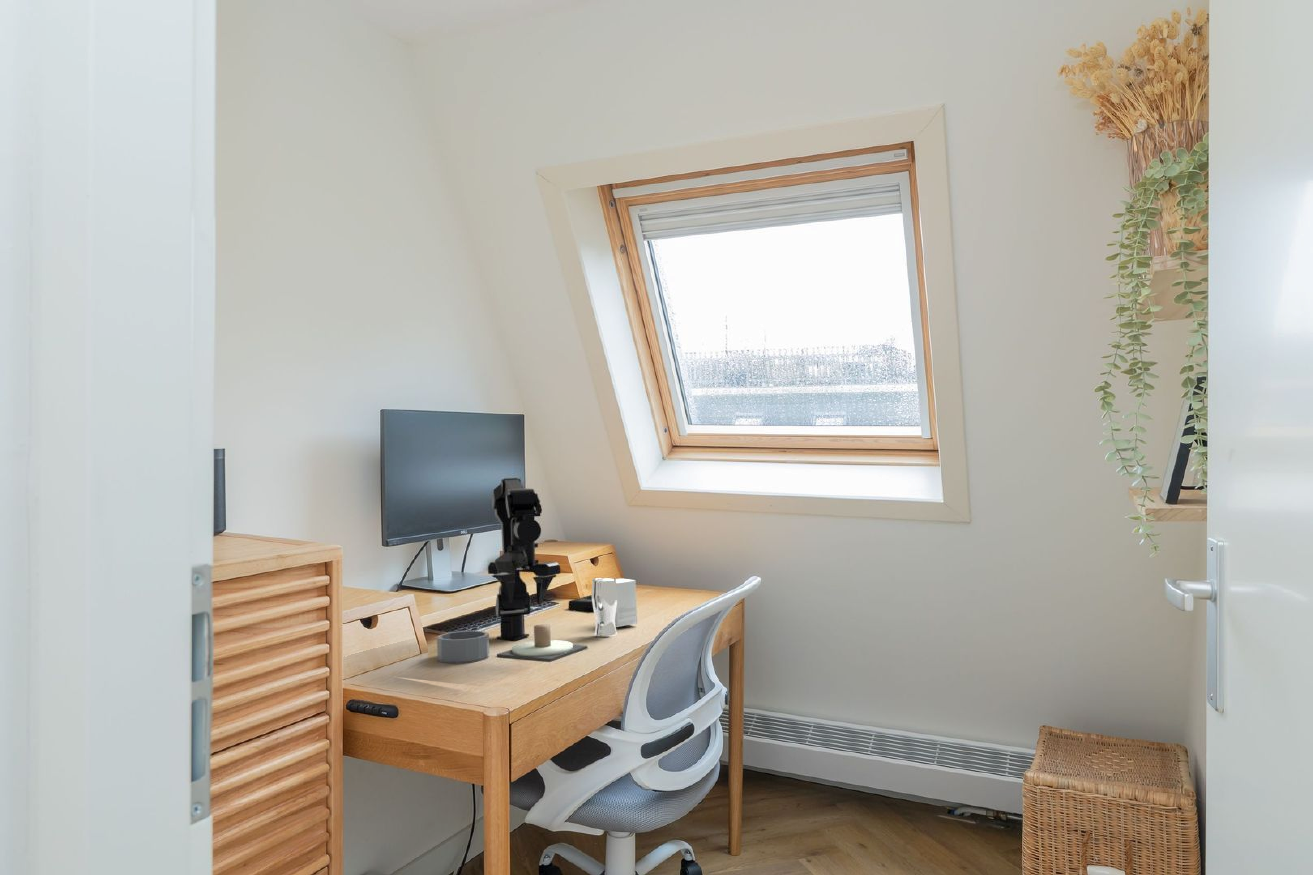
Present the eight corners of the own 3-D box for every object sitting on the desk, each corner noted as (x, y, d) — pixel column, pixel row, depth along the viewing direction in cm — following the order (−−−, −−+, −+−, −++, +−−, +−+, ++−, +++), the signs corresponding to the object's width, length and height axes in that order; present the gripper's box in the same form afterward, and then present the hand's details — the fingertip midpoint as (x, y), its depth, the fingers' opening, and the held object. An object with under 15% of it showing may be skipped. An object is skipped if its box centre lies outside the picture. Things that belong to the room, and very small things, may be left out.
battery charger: (594, 615, 282) (593, 602, 282) (568, 613, 286) (568, 600, 287) (615, 608, 293) (615, 596, 293) (590, 607, 298) (590, 595, 298)
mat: (535, 644, 236) (535, 641, 236) (587, 648, 228) (587, 645, 228) (496, 656, 222) (496, 654, 222) (551, 661, 214) (550, 658, 214)
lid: (535, 642, 235) (535, 619, 235) (584, 646, 228) (583, 622, 228) (499, 653, 222) (499, 629, 222) (550, 658, 215) (549, 632, 215)
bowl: (460, 651, 229) (460, 629, 230) (498, 654, 224) (498, 632, 224) (427, 661, 219) (427, 638, 219) (466, 664, 213) (466, 641, 213)
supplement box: (623, 621, 267) (621, 577, 268) (637, 623, 261) (636, 579, 262) (602, 624, 263) (600, 580, 263) (616, 627, 257) (615, 582, 257)
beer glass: (595, 638, 241) (594, 581, 242) (590, 633, 248) (588, 578, 248) (621, 636, 243) (619, 579, 244) (615, 631, 250) (613, 577, 250)
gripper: (472, 542, 223) (473, 606, 222) (532, 543, 213) (534, 610, 213) (501, 538, 232) (503, 599, 232) (560, 539, 223) (562, 603, 222)
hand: (524, 603), depth 224 cm, fingers open, 9 cm apart
